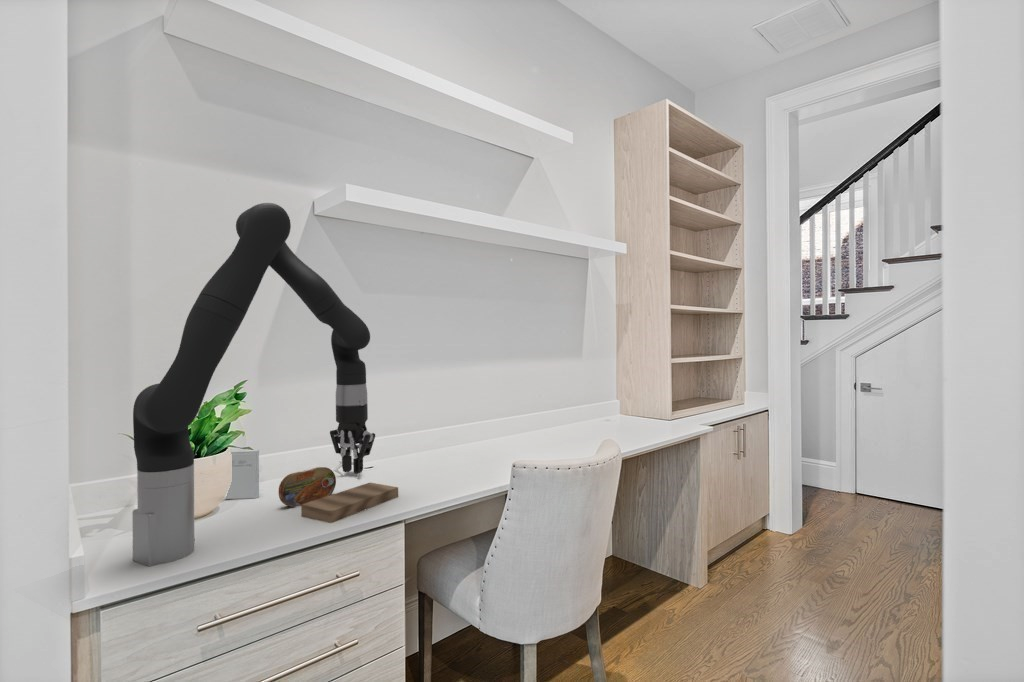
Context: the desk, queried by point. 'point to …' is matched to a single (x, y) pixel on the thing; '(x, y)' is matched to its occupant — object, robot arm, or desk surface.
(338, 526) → the desk surface
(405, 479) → the desk surface
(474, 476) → the desk surface
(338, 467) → the origami figure
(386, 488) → the walnut riser
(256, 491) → the external hard drive
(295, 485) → the tin
